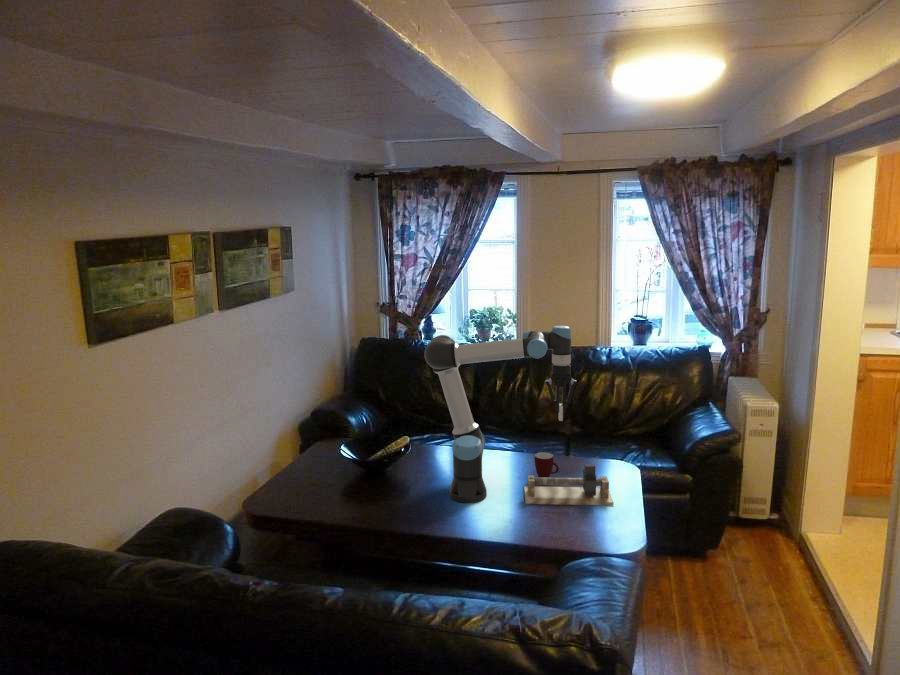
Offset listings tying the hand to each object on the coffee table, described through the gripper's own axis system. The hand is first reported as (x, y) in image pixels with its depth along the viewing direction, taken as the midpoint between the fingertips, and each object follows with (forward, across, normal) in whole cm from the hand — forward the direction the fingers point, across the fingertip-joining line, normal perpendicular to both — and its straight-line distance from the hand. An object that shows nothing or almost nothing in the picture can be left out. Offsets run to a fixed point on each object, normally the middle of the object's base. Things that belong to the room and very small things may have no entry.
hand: (560, 419), depth 262 cm
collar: (+26, +11, -12) cm, 30 cm away
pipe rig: (+28, +2, -12) cm, 31 cm away
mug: (+29, -5, +7) cm, 30 cm away
